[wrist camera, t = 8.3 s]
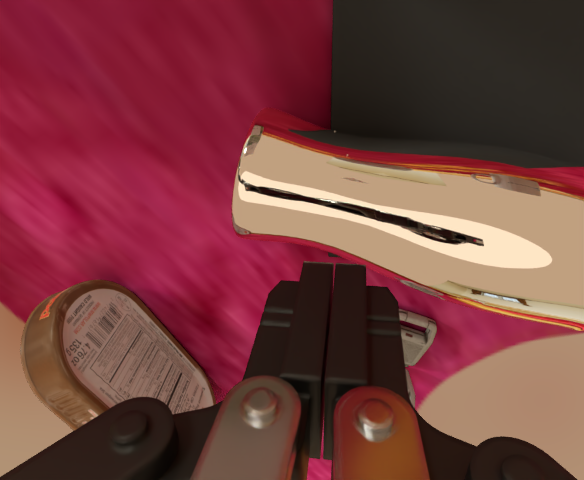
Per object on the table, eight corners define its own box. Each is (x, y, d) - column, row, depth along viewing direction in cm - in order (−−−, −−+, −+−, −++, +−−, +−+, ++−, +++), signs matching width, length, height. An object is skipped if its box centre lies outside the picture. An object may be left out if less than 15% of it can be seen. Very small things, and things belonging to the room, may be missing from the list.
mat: (328, 253, 25) (328, 256, 24) (334, -29, 17) (333, -29, 17) (548, 265, 23) (550, 270, 23) (655, -42, 16) (660, -42, 15)
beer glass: (279, 155, 24) (551, 218, 22) (240, 266, 21) (545, 348, 20) (270, 60, 18) (654, 137, 16) (213, 202, 15) (663, 314, 13)
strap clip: (394, 302, 26) (397, 354, 22) (440, 318, 26) (451, 372, 22) (345, 386, 31) (342, 440, 27) (385, 400, 31) (387, 455, 27)
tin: (75, 267, 28) (-22, 361, 21) (106, 250, 27) (14, 344, 20) (206, 405, 34) (163, 515, 27) (237, 396, 33) (201, 509, 26)
